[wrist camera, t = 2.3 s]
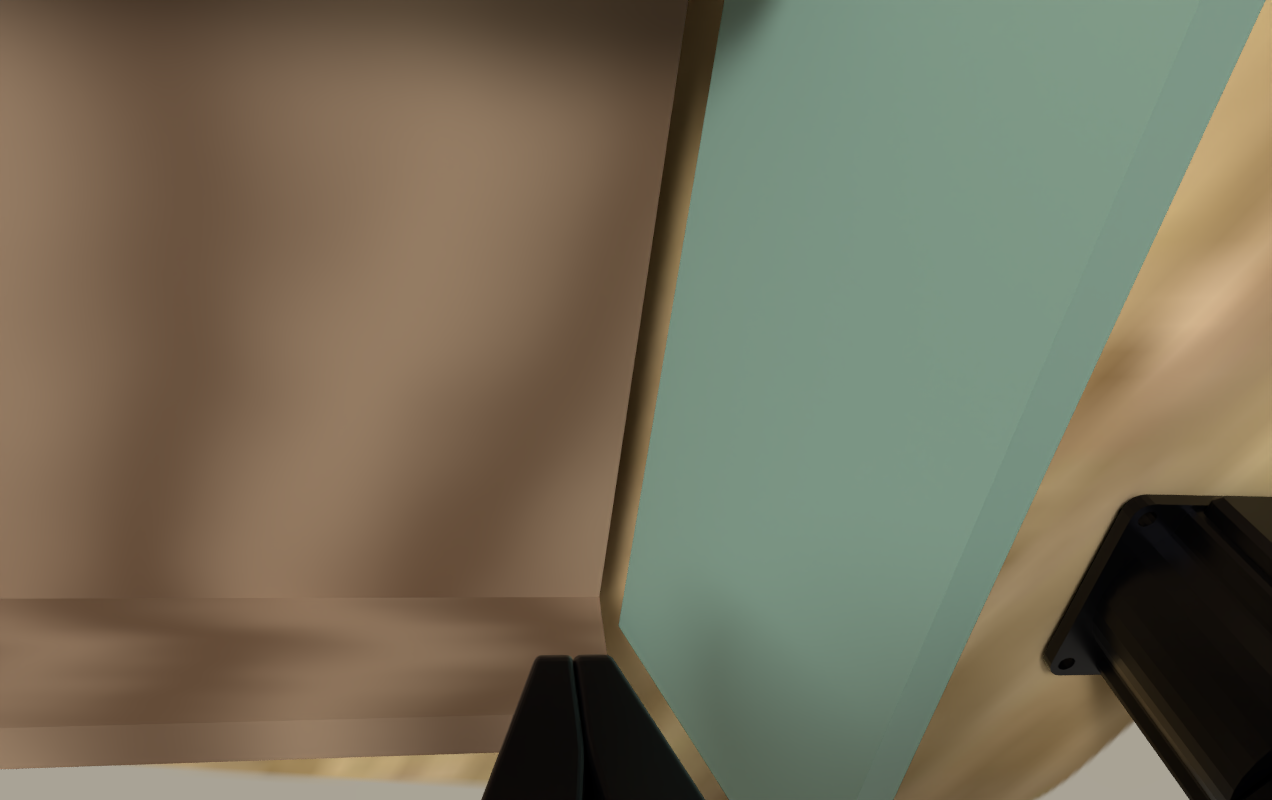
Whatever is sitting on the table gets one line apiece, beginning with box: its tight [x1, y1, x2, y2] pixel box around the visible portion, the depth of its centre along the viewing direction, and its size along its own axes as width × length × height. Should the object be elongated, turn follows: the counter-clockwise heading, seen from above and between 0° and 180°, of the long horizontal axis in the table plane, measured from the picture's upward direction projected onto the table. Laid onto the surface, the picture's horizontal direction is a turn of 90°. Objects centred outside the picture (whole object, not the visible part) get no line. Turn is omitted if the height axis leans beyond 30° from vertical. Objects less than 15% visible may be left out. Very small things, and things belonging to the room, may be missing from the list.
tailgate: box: [619, 0, 1265, 800], centre depth 15 cm, size 1×16×8 cm, turn 173°
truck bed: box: [0, 0, 688, 769], centre depth 14 cm, size 18×17×7 cm
